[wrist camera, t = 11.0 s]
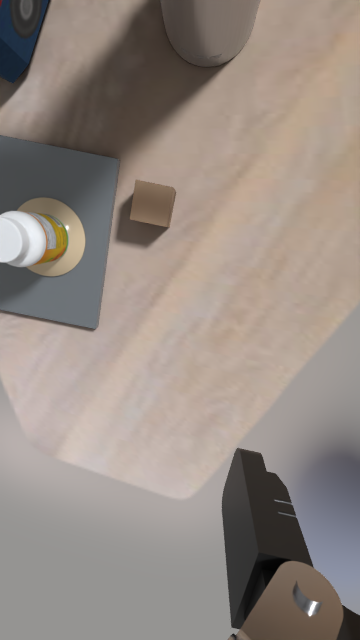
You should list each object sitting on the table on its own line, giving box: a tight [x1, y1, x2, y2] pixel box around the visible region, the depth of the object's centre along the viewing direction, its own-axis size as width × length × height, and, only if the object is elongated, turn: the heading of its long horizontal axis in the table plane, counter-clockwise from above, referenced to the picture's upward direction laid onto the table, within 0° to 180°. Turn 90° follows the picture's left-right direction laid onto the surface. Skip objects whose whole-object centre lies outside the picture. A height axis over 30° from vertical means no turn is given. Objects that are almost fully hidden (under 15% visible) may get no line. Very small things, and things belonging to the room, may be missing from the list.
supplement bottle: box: [0, 211, 69, 267], centre depth 34 cm, size 5×5×10 cm
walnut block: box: [130, 180, 176, 227], centre depth 37 cm, size 4×4×4 cm
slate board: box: [0, 135, 120, 329], centre depth 39 cm, size 20×14×1 cm
